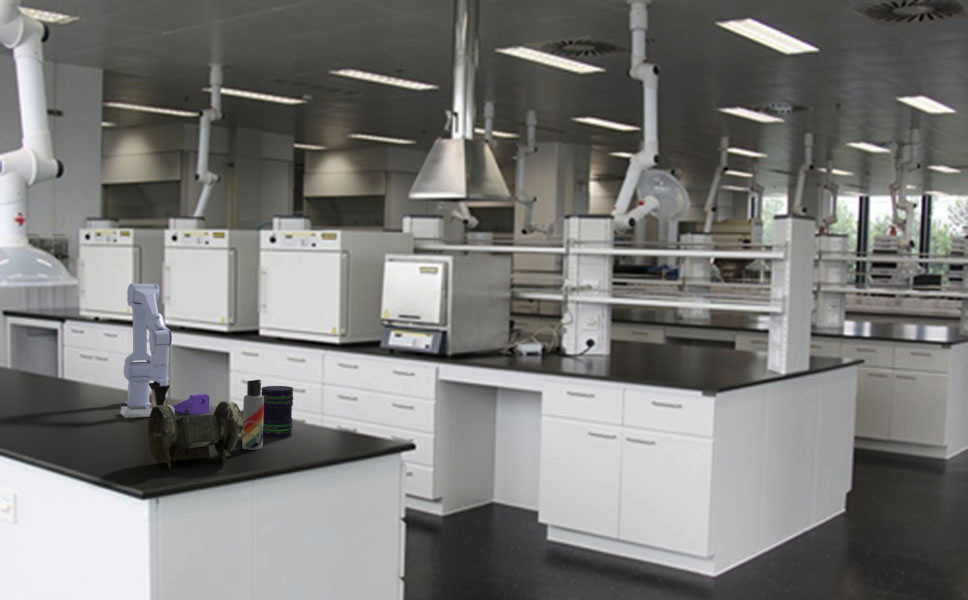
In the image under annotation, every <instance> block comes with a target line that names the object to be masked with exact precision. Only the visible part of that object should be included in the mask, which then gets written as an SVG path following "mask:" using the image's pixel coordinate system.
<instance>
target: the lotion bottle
mask: <svg viewBox="0 0 968 600" xmlns="http://www.w3.org/2000/svg"><path fill="white" fill-rule="evenodd" d="M246 384H247V386H246V395H244V396H243V403H242V404H243V405H242V408H243V409H242V420H243V429H244V435H243V437H242V442H241V443H242V446H241V447H242V449H243V450H247V449H248V450H249V451H255V450H261V449H263V442H264V438H263V412H264V396H262V395H261V392H262V391H261V388H262V380H261V379H253V380H252V379H251V380H247V383H246ZM248 450H247V451H248Z"/></svg>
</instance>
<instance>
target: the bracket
mask: <svg viewBox="0 0 968 600" xmlns="http://www.w3.org/2000/svg"><path fill="white" fill-rule="evenodd" d="M188 396H189V398H188V399H185V400H183V401H181V402H179V403H177V404H174V405H171V406H172V407H174V408H175V413H177V412H178V413H182V414H186V411H185V410H186V407H187V405H188V404H189V402H190V401H192V402H191V403H190V405H189V407H188V410H189V415H191V416H193V415H203V414H208V413H210V395H208V394H206V393H196V394H190V395H188Z"/></svg>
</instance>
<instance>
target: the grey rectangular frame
mask: <svg viewBox="0 0 968 600" xmlns="http://www.w3.org/2000/svg"><path fill="white" fill-rule="evenodd" d="M167 405H168V406H169V407H170V408H171V409H172V411H173V413H174V416H175V413H176V411H175V408H174V407H172V406H173V405H171V404H167ZM151 411H152V408H151V405H144V406H128V405H126V406H120V415H121V416H122V417H123V418H124V419H129V418H149V417H150V414H151Z"/></svg>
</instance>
